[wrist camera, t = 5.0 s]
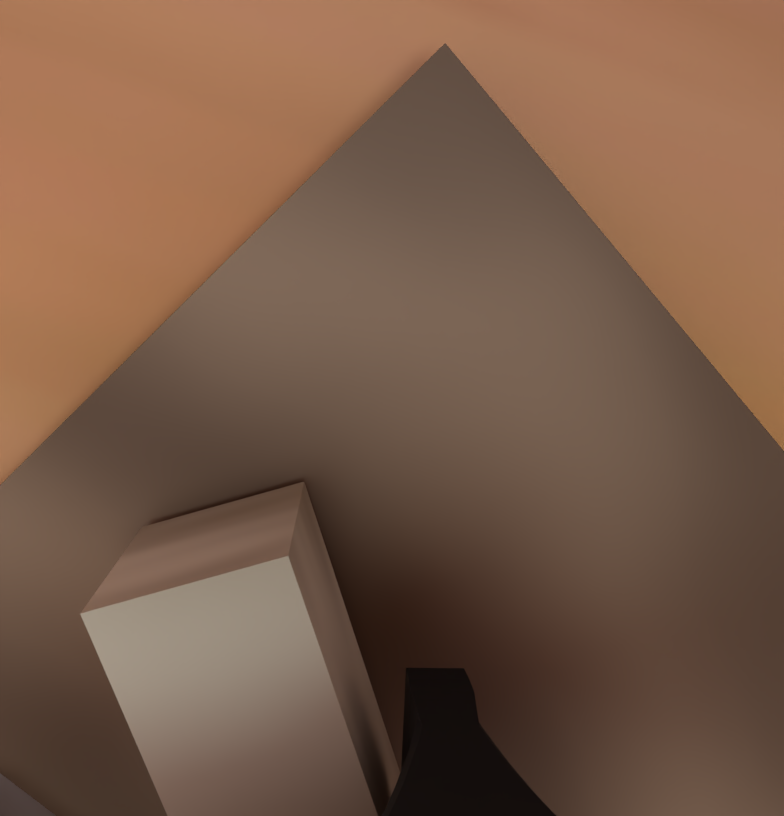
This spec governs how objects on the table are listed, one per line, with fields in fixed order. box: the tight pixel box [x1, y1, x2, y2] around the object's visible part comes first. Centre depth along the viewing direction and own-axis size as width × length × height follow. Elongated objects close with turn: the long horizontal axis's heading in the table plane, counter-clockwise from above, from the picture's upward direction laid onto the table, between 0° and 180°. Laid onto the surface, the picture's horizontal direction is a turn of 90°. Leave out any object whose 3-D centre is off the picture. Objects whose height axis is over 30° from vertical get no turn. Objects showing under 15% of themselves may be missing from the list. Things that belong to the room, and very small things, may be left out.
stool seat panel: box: [0, 44, 784, 816], centre depth 13 cm, size 16×15×4 cm
